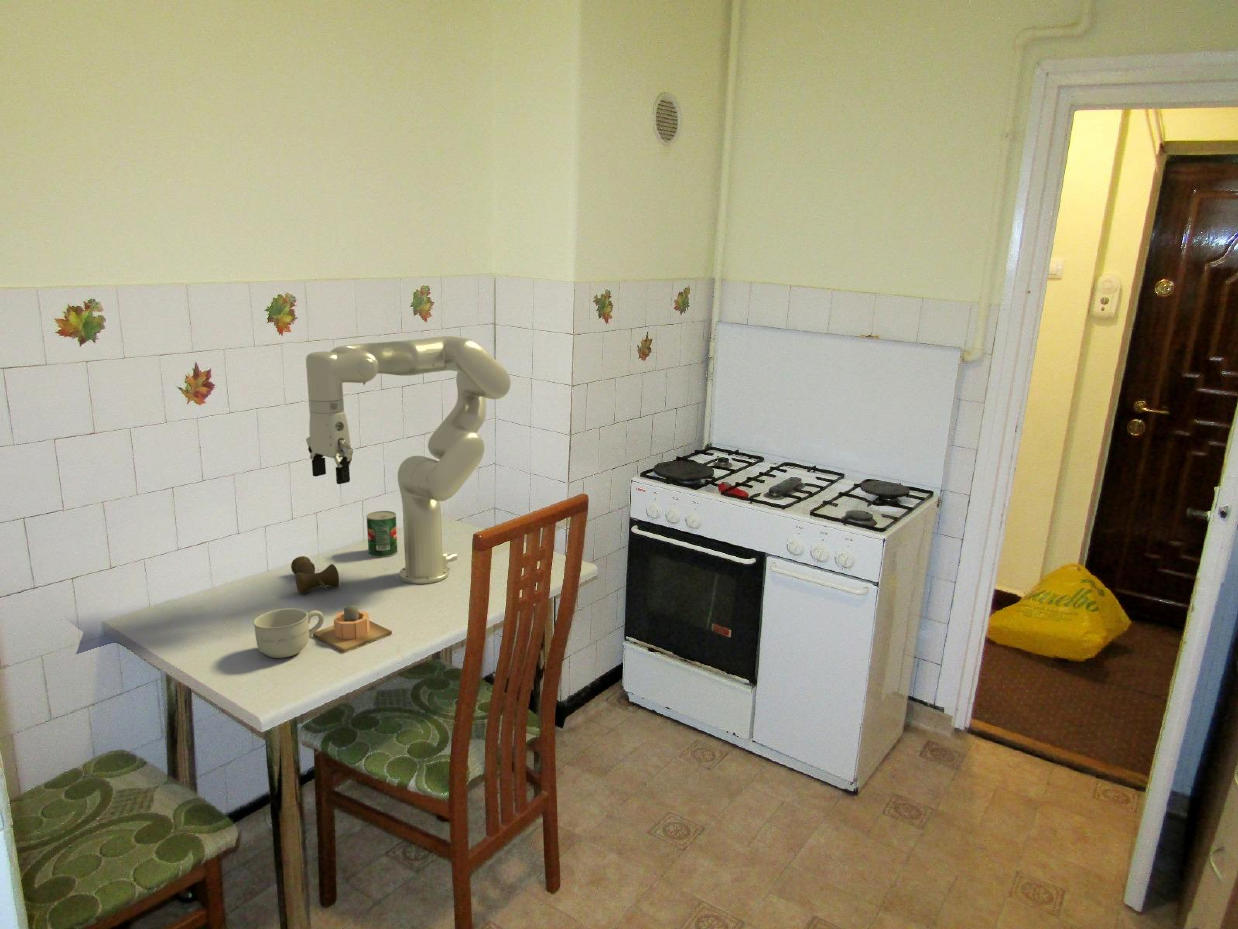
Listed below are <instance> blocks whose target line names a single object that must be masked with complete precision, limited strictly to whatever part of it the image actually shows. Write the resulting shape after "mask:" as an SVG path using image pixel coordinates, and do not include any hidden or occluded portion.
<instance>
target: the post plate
mask: <svg viewBox="0 0 1238 929" xmlns="http://www.w3.org/2000/svg"><path fill="white" fill-rule="evenodd" d="M358 610H359V606H357V605H347V606H345V607H344V608H343V612H344V620H345V622H354V621H357V620H359V614H358ZM369 627H370V629H369V632H368V634H367V635H365V636H362V637H359V638H357V639H356V638H355V639H341V638H339V637H337V636H335V632H334V624H333V625H331V626H329V627H326V628H325V627H324V628H323V629H318V630H317V631H316V632H315V633H313V634H312V637H314V638H315V639H318V640H319V639H320V641H321V640H322V641H321V642H323V641H324V643H325V644H327V643H328V644H327V645H329V644H330V645H329V646H331V647H333V648H334V647H335V649H336V648H337V649H336V650H339V651H340V650H341V651H340V652H342V653H345V654H346V653H348V652H350V651H349V650H351V651H352V650H355V649H358V648H360V647H363V646H365V644H366V645H368V644H367V643H369V644H370V643H374V642H375V641H374V640H376V641H379V640H381V639H380V638H382V639H384V638H386V637H389V636H392V635H393V631H392V630H391V629H388V628H385V627H384V626H382V625H380V624H377V622H376V623H375V622H374V621H372V620H369ZM391 634H392V635H391ZM383 637H384V638H383ZM378 639H379V640H378ZM373 641H374V642H373ZM357 647H358V648H357ZM347 651H348V652H347Z"/></svg>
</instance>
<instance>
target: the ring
mask: <svg viewBox="0 0 1238 929" xmlns="http://www.w3.org/2000/svg"><path fill="white" fill-rule="evenodd" d="M358 614H359V620H357V621H354V622H345V620H344V611H342V612H340V613H337V614H335V616H334V619H333V625H334V632H335V636H337V637H339V638H341V639H355V638H356V639H357V638H359V637H362V636H365V635H367V634H368V632H369V629H370V627H369V621H370V615H369V614H370V613H368V612H366V611H365V610H362V609H361V610H360V609H358Z"/></svg>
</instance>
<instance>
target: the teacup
mask: <svg viewBox="0 0 1238 929" xmlns="http://www.w3.org/2000/svg"><path fill="white" fill-rule="evenodd" d="M315 616H317V617H318V620H317V623H316V624H315V625H314V626H313V627H312V628H310V627H309V625H310V623H311V619H312V618H313V617H315ZM324 621H325V617H324V615H323V613H322V612H321V611H319V610H312V611H310V612H307V610H304V609H301V608H280V609H275V610H271V611H268V612H265V613H262V614H260V615H258V616H257V617H256V618H255V619H254V620H253V623H252V624H253V626H254V633H255V634H254V635H255V642H256V646H257V647H258V650H259V651H260V652H261V653H262V654H265V655H267V656H268V657H269V658H271V659H272V658H274V659H282V658H288V657H292V656H295V655H297V654H299V653H300V652H302V650H303V649H304V648H305V647H306V646H307V645H308V643H309V640H310V638H311V637H313V633H315V632H317V631H319V630H320V628H321V627H322V626H323V624H324Z"/></svg>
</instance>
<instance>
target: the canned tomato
mask: <svg viewBox="0 0 1238 929" xmlns="http://www.w3.org/2000/svg"><path fill="white" fill-rule="evenodd" d="M365 516H366V528H367V550H368V552H367V554H368V556H370V555H371V556H370V557H372V558H387V557H392V555H393V556H395V555H396V554H398V551H399V550H398V533H397V532H398V531H397V530H398V529H397V513H396V512H394V511H389V510H378V511H373V512H370V513H367V514H366V515H365Z"/></svg>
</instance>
